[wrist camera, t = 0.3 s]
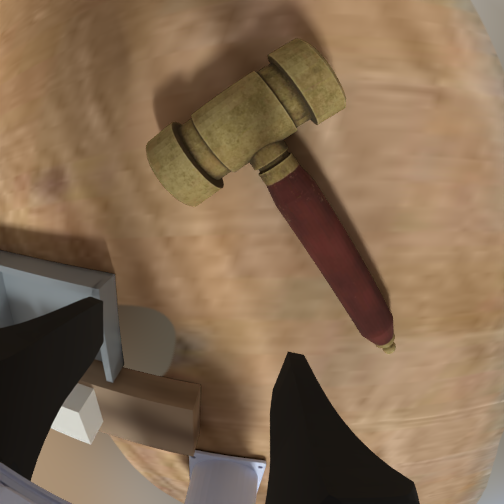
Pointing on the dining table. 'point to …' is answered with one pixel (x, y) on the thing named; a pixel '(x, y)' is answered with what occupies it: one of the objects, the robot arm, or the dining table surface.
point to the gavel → (275, 167)
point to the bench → (147, 408)
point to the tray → (59, 298)
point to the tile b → (79, 415)
